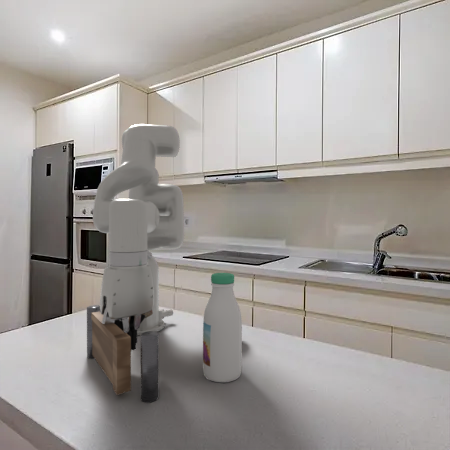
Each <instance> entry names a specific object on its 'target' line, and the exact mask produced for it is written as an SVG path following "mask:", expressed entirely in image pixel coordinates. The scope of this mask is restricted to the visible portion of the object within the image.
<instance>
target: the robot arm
mask: <svg viewBox="0 0 450 450" xmlns="http://www.w3.org/2000/svg"><path fill="white" fill-rule="evenodd" d="M180 145H181V140H180V134H179V132H178V130H177V128H176V127H174V126H172V125H165V124H145V123H139V124H138V123H137V124H134V125H130V127H128V128H127V129H126V130H124V131H123V133H122V135H121V146H122V153H121V154H122V155H121V161H120V165H119V166H117V167H115V168H114V169H113V170H112V171H110V172H109V173H108V174H107V176H105V177H104V178H103V179H102V181H100V183H99V185H98V187H97V189H96V194H95V199H94V202H93V203H94V204H93V209H92V223H93V226H94V228H95V229H96V230H97V231H99V233H104V234H108V264H109V265H108V266H107V267H106V266H105V267H104V270H103V275H102V281H101V287H100V296H99V298H100V299H99V306H100V313H101V314H102V315H103V320H102V324H104V325H107V324H112V323H115V324H116V325H117V326H118V327H119V328H120V329H121V330H122V331H123V332H124V333H127V334H128V335H129V336H130V337H131V351H136V350H137V344H138V336H141V334H142V333H144V332H149V331H153V332H157V333H159V332H160V331H161V330H163V329H164V328H165V322H164V319H165V318H166V317H167V318H168V317H171V316H173V315H174V310H173V309H171V308H170V309H166V310H165V309H164V308H163V309H160V304H159V303H160V300H159V298H160V297H159V296H160V295H159V293H160V291H159V290H160V287H159V285H160V283H159V281H160V280H159V279H160V277H159V275H160V274H159V273H160V270H159V269H160V268H159V267H160V266H159V264H158V261H157V259H156V257H154V256H153V253H152V252H151V251H153V250H159V251H160V250H161V251H162V250H177V249H179V248H181V247H182V246H183V244H184V241H185V209H184V207H185V205H184V194H183V191H182V188H180V187H179V185H176V184H173V183H171V184H170V183H169V184H168V183H159V179H160V175H159V171H158V170H157V168H156V157H159V158H160V157H161V158H176V157H177V156H178V155H179V152H180V148H181V147H180ZM125 191H128V198H118V199H114V198H115V197H116V196H118V195H119V194H121V193H123V192H125Z"/></svg>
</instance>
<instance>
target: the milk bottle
mask: <svg viewBox="0 0 450 450" xmlns="http://www.w3.org/2000/svg"><path fill="white" fill-rule="evenodd" d="M210 282H211V288H212V289H211V293H210V297H209V299H208V301H207V304H206V306H205V308H204V313H203V321H202V322H203V323H202V324H203V325H202V326H203V327H202V335H203V336H202V371H203V376H204V377H205V379H207V380H209V381H212V382H215V383H229V382H232V381H236V380H237V379H239V378H240V376H241V374H242V368H243V365H242V364H243V363H242V362H243V355H242V353H243V351H242V349H243V345H242V344H243V333H242V332H243V326H242V324H243V323H242V322H243V320H242V312H241V309H240V305H239V303H238V301H237V298H236V296H235V291H234V286H235V274H233V273H230V272H216V273H212V274H211V276H210Z"/></svg>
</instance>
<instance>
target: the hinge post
mask: <svg viewBox="0 0 450 450" xmlns="http://www.w3.org/2000/svg"><path fill="white" fill-rule="evenodd" d="M99 311H100V304H96V305H95V304H94V305H89V306H86V358H87V359H95V358H94V357H93V355H92V319H91V313H92V312H99Z"/></svg>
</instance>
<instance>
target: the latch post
mask: <svg viewBox="0 0 450 450" xmlns="http://www.w3.org/2000/svg"><path fill="white" fill-rule="evenodd" d="M158 399H159V332H153V331H149V332H144V333H142V334H141V335H140V400H141V402H143V403H153V402H156V401H157V400H158Z"/></svg>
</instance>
